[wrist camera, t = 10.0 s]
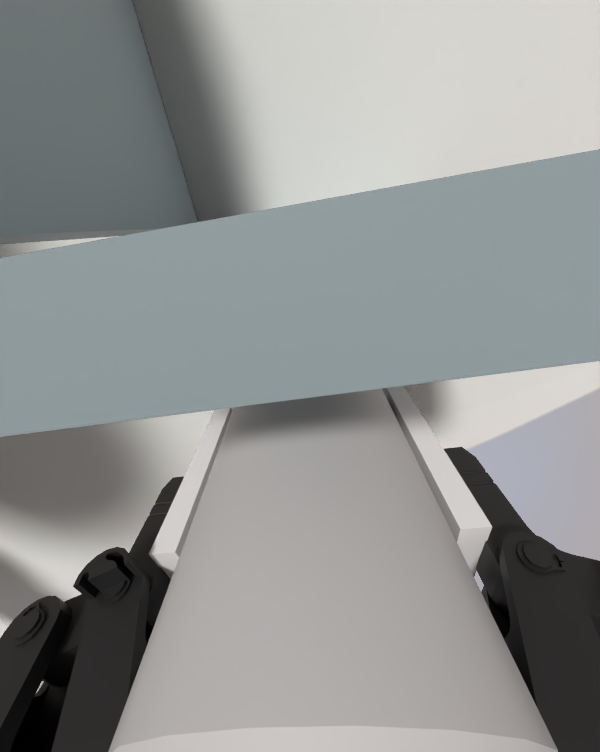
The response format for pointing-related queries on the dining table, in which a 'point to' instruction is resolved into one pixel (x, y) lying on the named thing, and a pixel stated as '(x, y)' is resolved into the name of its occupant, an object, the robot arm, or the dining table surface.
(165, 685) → the can
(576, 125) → the dining table surface
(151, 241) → the screen
